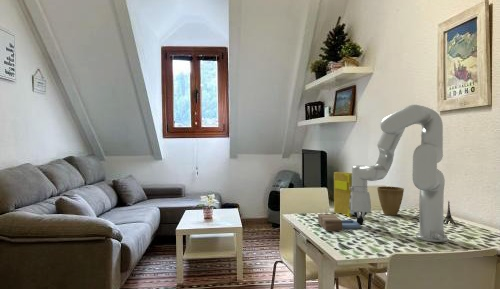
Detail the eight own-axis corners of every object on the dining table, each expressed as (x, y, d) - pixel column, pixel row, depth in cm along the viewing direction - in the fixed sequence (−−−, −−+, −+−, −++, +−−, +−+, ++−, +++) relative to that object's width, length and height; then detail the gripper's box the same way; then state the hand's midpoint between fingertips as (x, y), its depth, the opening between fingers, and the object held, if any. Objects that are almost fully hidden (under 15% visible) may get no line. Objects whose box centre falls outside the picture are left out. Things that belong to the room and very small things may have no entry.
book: (358, 216, 197) (358, 173, 197) (349, 217, 195) (348, 174, 195) (340, 211, 213) (340, 171, 213) (331, 211, 211) (331, 172, 211)
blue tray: (360, 228, 167) (360, 224, 167) (328, 229, 167) (328, 225, 167) (353, 223, 178) (353, 220, 178) (323, 224, 178) (323, 220, 178)
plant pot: (372, 213, 206) (371, 187, 206) (391, 211, 211) (390, 185, 211) (390, 217, 192) (389, 190, 192) (409, 215, 197) (409, 188, 197)
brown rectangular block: (342, 230, 165) (342, 220, 165) (325, 230, 164) (325, 221, 164) (333, 222, 181) (333, 214, 181) (318, 223, 181) (318, 214, 181)
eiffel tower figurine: (469, 225, 175) (469, 200, 175) (462, 228, 169) (461, 202, 169) (438, 220, 187) (438, 196, 187) (430, 223, 180) (430, 198, 180)
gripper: (347, 190, 169) (347, 226, 169) (376, 190, 169) (377, 226, 169) (343, 188, 177) (343, 223, 177) (371, 188, 177) (371, 223, 177)
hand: (360, 224), depth 173 cm, fingers closed
